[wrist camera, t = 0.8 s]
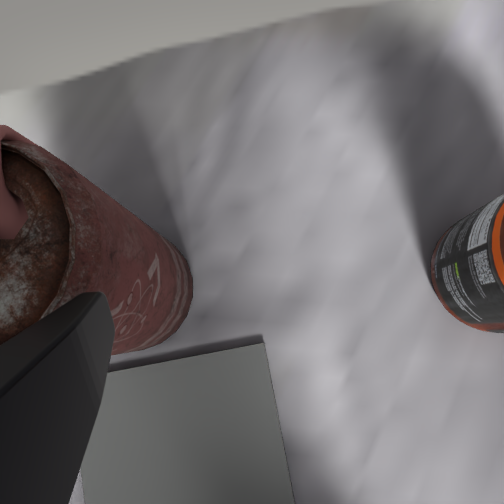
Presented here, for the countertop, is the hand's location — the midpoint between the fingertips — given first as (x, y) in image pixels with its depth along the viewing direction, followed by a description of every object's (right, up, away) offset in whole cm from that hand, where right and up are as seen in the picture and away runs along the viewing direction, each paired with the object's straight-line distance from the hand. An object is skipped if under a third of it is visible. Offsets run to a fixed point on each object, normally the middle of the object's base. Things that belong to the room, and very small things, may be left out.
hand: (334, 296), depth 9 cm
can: (-8, -1, +16) cm, 17 cm away
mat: (-5, -10, +14) cm, 18 cm away
